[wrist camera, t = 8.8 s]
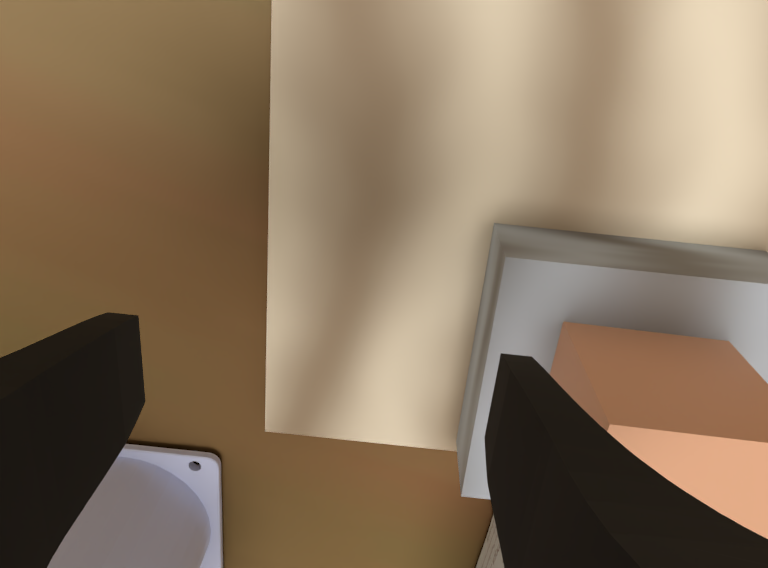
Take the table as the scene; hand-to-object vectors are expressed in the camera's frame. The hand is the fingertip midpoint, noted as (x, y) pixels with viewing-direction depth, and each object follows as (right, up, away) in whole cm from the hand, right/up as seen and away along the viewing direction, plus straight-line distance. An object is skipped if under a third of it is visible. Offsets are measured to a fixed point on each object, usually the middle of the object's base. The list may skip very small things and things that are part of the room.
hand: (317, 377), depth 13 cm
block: (+9, -2, +7) cm, 12 cm away
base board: (+6, +4, +9) cm, 12 cm away
